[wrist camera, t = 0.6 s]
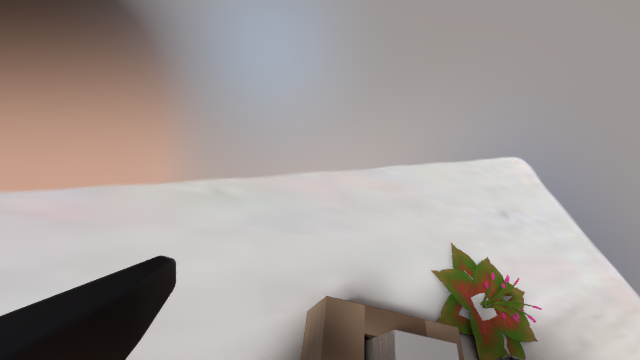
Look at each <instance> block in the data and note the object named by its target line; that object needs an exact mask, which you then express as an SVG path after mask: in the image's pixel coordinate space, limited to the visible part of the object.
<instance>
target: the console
mask: <svg viewBox="0 0 640 360" xmlns="http://www.w3.org/2000/svg"><path fill="white" fill-rule="evenodd" d="M392 330H398V331H402V332H407V333H411V334H415V335H420V336H424V337H428V338H433V339H437V340H442V341H446V342H450V343H455V344H457V350H458V356H459V360H464V358H463V353H462V347H461V341H460V335H459V330H458V328H457V327H453V326H449V325H445V324H441V323H437V322H433V321H428V320H424V319H420V318H416V317H412V316H408V315H404V314H399V313H395V312H391V311H387V310H383V309H379V308H375V307H370V306H366V305H362V304H358V303H354V302H350V301H346V300H341V299H337V298H333V297H329V296H326V297H325V298H324V299H322V300H321V301H320V302H319V303H317V304H316V305H315V306H314V307H312V308H311V309H310V310H309V311H307V319H306V326H305V334H304V342H303V349H302V357H301V360H364V339H368V340H369V339H371V338H374V337H377V336H379V335H382V334H384V333H387V332H390V331H392Z"/></svg>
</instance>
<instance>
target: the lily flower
mask: <svg viewBox="0 0 640 360" xmlns="http://www.w3.org/2000/svg"><path fill="white" fill-rule="evenodd" d="M451 245H452V253H453V255H452V257H453V268H454V269H446V270H441V271H440V272H438V271H432V270H431V271H432V272H433V273H434V274H436V276H437V277H438V278H439V279H440V281H442V282H443V284H444V285H445V286H446V288H447V289H448V290H449V291H450V292H451V293H452V294H451V295H450V296H449V297H448V299H447V301H446V302H445V305H444V307H443V309H442V312H441V317H440V318H439V319H438V320H437V323H441V324H445V325H449V326H453V327H457V328H458V330H459V332H461V333H464V334H467V335H474V337H475V341H476V347H477V352H478V356H479V359H480V360H496V359H498V358H499V357H500V358H501V359H503V358H504V357H505V356H507V355H509V354H508V352H507V351H506V350H505V348H504V339H503V335H502V333H501V332H503V333H504V334H505V335H506V338H507V347H508V349H509V352H510V355H511V356H514V357H517V358H521V359H523V360H525V355H524V351H523V348H522V346H521V344H520V342H532V340H534V341H537V339H536V338H535V337H534V334H533V331H532V329H531V328H530V327H529V326H530V324H529V322H528V320H527V318H526V316H525V315H524V314H526V313H524V312H523V311H524V310H523V307H524V305H527V304H524V299H523V295H524V293H525V292H523V291H521V290H519V289H518V288H514V286H515V285H516V283H517V282H518V280H519V278H518V279H517V281H515V283H514V285H511V284H510V283H509V282H508V281H509V277H506V279H505V282H504V280H503V277H502V275H501V274H500V272H499V271H498V270H497V269H496V268H495V267H494V266H493V265H492V264H491V263H490V261H489V259H488V257H487V259H485V260H484V261H481V262H480V263H479V264H478V265H476V264H475V262H474V261H473V260H472V259H471V258H470V257H469V256H468V255H467V254H465V253H464V252H462V251H461V250H459V249H456V247H455V246H454V245H453V244H452V243H451ZM464 271H465V272H464ZM466 272H467V273H468V274H469V275H470V276H471V277H472V278H473V280H472V279H471V277H470V276H469V275H468V274H467V273H466ZM507 276H508V275H507ZM479 293H485V294H486V296H485V298H484V300H483V302H481V305H483V308H486V309H487V308H494V309H495V311H496V313H497V315H498V316H496V317H494V318H492V319H490V320H485V321H482V319H481V317H480V315H479V314H478V312H477V310H476V309H475V307H474V305H473V302H472V300H471V297H473V296H475V295H477V294H479ZM504 295H505V296H512V297H511V298H510V299H509V300H508V301H504V300H501V299H502V298H503V296H504ZM487 297H488V300H487ZM486 300H487V301H486ZM485 301H486V302H485ZM489 304H492V305H489ZM485 305H488V306H485ZM462 306H463V307H465V308H466V309H467V310H470V311H471V312H470V320H469V319H467V318H464V317H462V316H460V315H458V314H459V312H460V310H461V308H462ZM528 306H531V305H528ZM532 307H534V308H537V309H539V310H541V308H539V307H536V306H532ZM523 313H524V314H523ZM526 315H527V316H528V317H529V318H530V319H531V320H533V322H534V323H535V322H536V321H535V320H534V319H533V318H532V317H531V316H529V315H528V314H526ZM519 341H520V342H519ZM537 342H538V341H537Z"/></svg>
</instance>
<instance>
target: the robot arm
mask: <svg viewBox="0 0 640 360" xmlns="http://www.w3.org/2000/svg"><path fill="white" fill-rule="evenodd" d="M175 284H176V261H175V260H174V259H173V258H169V257H166V256H157V257H155V258H152V259H149V260H147V261H144V262H141V263H139V264H136V265H133V266H131V267H128V268H126V269H123V270H120V271H118V272H115V273H112V274H110V275H107V276H105V277H102V278H99V279H97V280H94V281H91V282H89V283H86V284H84V285H81V286H78V287H76V288H73V289H70V290H68V291H65V292H62V293H60V294H57V295H55V296H52V297H49V298H47V299H44V300H41V301H39V302H36V303H34V304H31V305H28V306H26V307H23V308H20V309H18V310H15V311H12V312H10V313H7V314H5V315H2V316H0V360H125V359H126V358H127V357H128V355H129V354H130V353H131V352H132V350H133V349H134V348H135V346H136V345H137V344H138V342H139V341H140V340H141V338H142V337H143V335H144V334H145V332H146V331H147V329H148V328H149V326H150V325H151V323H152V322H153V320H154V319H155V317H156V316H157V314H158V312H159V311H160V309H161V308H162V306H163V305H164V303H165V302H166V300H167V299H168V297H169V296H170V294H171V293H172V291H173V289H174V287H175ZM502 360H523V359H521V358H517V357H514V356H510V355H507V356H505V357H504V358H503V359H502Z"/></svg>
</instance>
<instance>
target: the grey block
mask: <svg viewBox="0 0 640 360" xmlns="http://www.w3.org/2000/svg"><path fill="white" fill-rule="evenodd" d="M364 360H459V356H458V350H457V344H455V343H450V342H446V341H442V340H437V339H433V338H428V337H424V336H420V335H415V334H411V333H407V332H402V331H398V330H392V331H390V332H387V333H384V334H382V335H379V336H377V337H374V338H371V339H369V340H366V341H364Z"/></svg>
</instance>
